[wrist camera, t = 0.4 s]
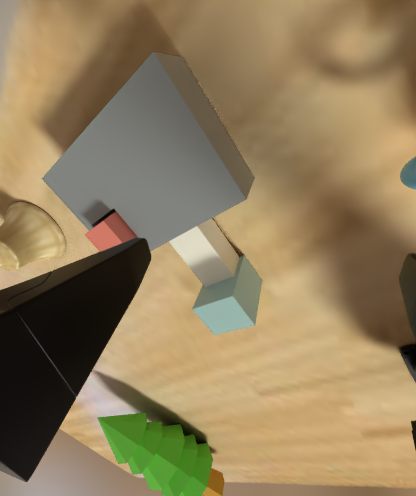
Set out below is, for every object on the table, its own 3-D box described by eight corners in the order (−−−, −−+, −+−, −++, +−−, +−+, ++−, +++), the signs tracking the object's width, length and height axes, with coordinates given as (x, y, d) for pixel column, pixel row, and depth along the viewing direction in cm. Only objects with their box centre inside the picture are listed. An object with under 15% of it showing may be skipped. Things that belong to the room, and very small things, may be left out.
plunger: (152, 222, 24) (127, 248, 21) (133, 233, 26) (107, 259, 22) (133, 198, 24) (103, 220, 20) (115, 211, 25) (84, 234, 21)
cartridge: (262, 280, 27) (255, 325, 22) (227, 292, 29) (214, 335, 24) (149, 118, 21) (106, 130, 16) (117, 148, 23) (70, 167, 18)
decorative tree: (199, 536, 49) (64, 467, 42) (199, 468, 60) (93, 405, 53) (240, 508, 46) (104, 431, 39) (233, 443, 57) (126, 373, 50)
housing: (254, 178, 21) (246, 199, 17) (144, 241, 28) (122, 266, 24) (182, 57, 18) (153, 51, 14) (79, 163, 25) (41, 178, 21)
